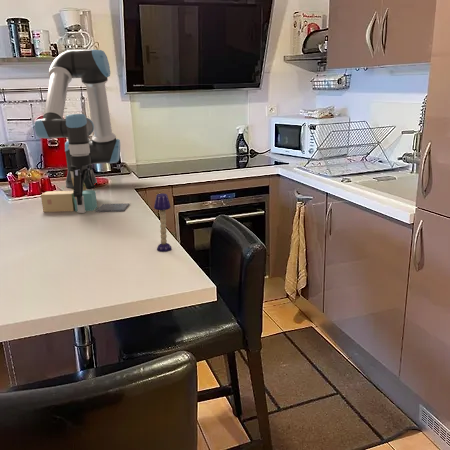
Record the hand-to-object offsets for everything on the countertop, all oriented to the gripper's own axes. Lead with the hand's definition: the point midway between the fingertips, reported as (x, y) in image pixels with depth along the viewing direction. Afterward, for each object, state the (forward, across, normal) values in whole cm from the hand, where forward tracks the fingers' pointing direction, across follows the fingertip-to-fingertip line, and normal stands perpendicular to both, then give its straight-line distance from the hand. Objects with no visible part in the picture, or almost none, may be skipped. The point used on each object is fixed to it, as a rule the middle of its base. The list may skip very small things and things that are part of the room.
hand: (86, 208), depth 187 cm
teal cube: (0, 0, 0) cm, 0 cm away
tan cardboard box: (0, 0, -10) cm, 10 cm away
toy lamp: (0, +52, +39) cm, 65 cm away
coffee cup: (0, -18, -6) cm, 19 cm away
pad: (0, 0, +11) cm, 11 cm away
